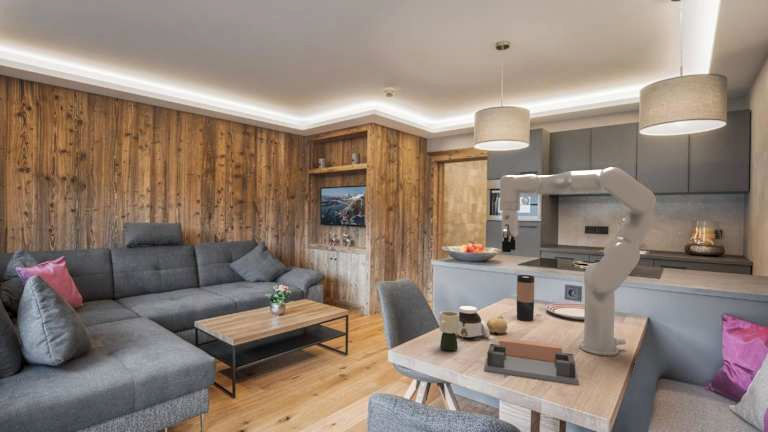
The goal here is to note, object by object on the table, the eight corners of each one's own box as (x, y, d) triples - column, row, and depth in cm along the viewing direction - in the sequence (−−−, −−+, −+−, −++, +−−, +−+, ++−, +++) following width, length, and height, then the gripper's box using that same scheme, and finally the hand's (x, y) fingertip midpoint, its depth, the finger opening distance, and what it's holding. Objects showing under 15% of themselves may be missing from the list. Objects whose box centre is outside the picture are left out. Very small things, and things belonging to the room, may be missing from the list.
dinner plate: (548, 320, 183) (548, 313, 183) (543, 306, 209) (543, 300, 209) (615, 325, 175) (615, 318, 175) (601, 310, 201) (601, 304, 201)
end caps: (487, 365, 124) (487, 352, 124) (490, 355, 133) (490, 343, 133) (575, 378, 116) (575, 364, 116) (572, 366, 124) (572, 354, 124)
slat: (499, 354, 138) (499, 340, 138) (500, 351, 142) (500, 337, 142) (561, 363, 131) (562, 348, 131) (561, 360, 134) (561, 345, 134)
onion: (499, 337, 157) (499, 319, 157) (482, 332, 163) (483, 315, 163) (510, 333, 162) (511, 316, 162) (494, 328, 168) (494, 312, 168)
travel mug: (535, 318, 184) (536, 275, 184) (531, 322, 178) (532, 278, 178) (518, 316, 188) (519, 274, 188) (514, 319, 182) (515, 276, 182)
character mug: (447, 343, 149) (448, 308, 149) (464, 347, 145) (465, 312, 145) (432, 351, 141) (432, 314, 141) (450, 355, 136) (450, 318, 136)
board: (484, 370, 124) (484, 366, 124) (487, 358, 134) (488, 354, 134) (578, 384, 114) (578, 379, 114) (574, 370, 125) (574, 365, 125)
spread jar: (451, 335, 158) (452, 306, 158) (470, 330, 165) (470, 303, 165) (475, 344, 149) (475, 313, 149) (494, 338, 156) (494, 308, 155)
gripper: (516, 206, 145) (515, 253, 145) (523, 207, 160) (522, 249, 160) (495, 206, 148) (494, 252, 148) (504, 207, 163) (503, 248, 164)
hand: (508, 250), depth 154 cm, fingers open, 9 cm apart
